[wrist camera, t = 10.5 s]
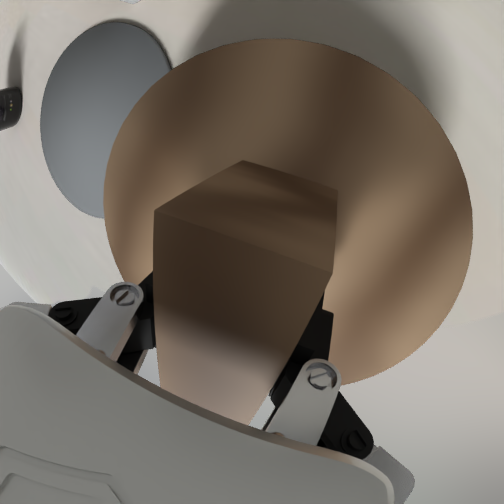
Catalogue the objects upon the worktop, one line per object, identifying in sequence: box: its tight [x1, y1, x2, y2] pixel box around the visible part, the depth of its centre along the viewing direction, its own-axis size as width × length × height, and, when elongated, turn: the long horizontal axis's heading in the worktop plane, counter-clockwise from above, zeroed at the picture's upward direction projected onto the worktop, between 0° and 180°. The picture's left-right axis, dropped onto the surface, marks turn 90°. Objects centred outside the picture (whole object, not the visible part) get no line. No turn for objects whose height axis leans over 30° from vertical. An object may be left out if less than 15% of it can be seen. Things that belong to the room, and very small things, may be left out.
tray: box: [40, 22, 171, 219], centre depth 22 cm, size 22×22×1 cm
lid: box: [103, 39, 473, 425], centre depth 11 cm, size 20×20×7 cm
